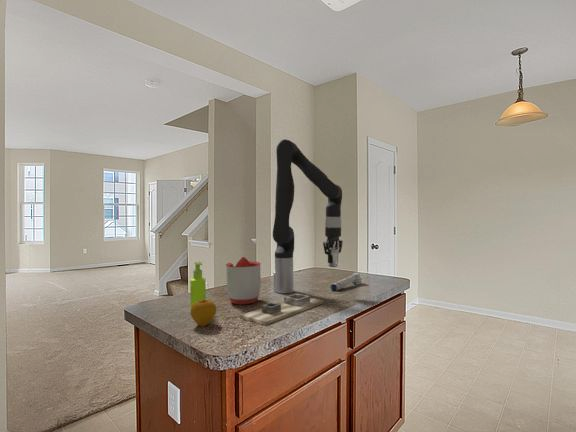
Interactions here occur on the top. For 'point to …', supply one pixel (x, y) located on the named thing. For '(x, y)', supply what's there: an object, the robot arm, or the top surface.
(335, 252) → the pipe fitting
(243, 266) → the citrus juicer
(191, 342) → the top surface
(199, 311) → the apple
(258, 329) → the top surface
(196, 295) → the soap dispenser
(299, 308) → the socket board
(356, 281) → the grey piece
